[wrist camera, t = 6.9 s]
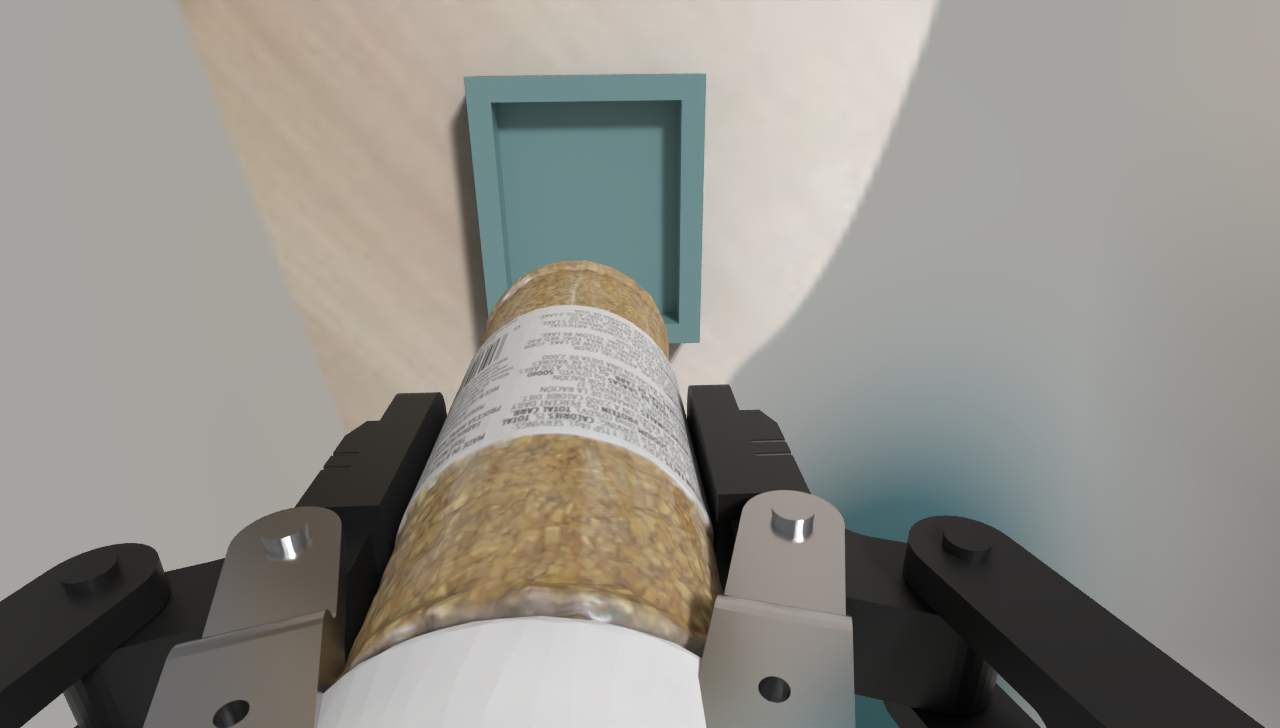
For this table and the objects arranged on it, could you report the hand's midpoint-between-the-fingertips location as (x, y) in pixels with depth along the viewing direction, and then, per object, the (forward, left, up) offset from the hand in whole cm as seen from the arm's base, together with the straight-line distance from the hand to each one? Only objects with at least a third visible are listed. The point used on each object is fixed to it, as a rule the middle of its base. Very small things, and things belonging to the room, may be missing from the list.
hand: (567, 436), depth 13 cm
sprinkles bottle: (0, 0, -5) cm, 5 cm away
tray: (0, 0, -22) cm, 22 cm away
